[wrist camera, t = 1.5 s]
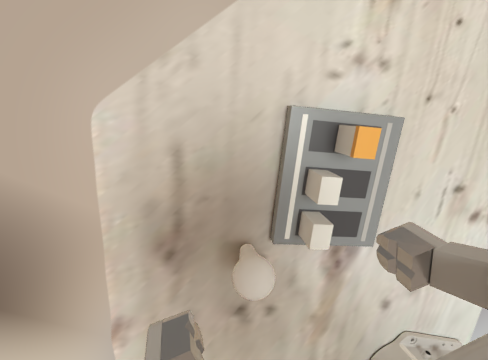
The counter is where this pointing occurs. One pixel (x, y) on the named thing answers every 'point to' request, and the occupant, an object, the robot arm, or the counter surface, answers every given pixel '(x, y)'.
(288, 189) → the panel
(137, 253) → the counter surface
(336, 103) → the counter surface
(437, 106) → the counter surface
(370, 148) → the block
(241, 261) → the lightbulb
